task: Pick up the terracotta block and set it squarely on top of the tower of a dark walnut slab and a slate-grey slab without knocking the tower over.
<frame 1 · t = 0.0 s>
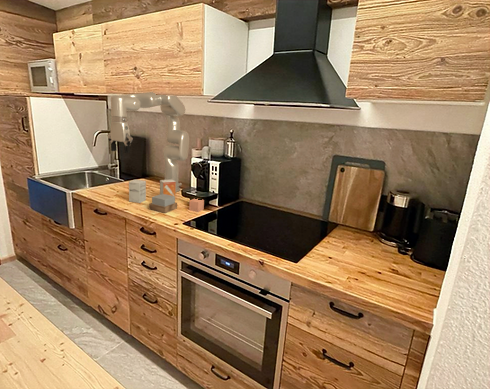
hand: (120, 151, 164), 31 cm above the counter, tool pointing down, fingers open, 9 cm apart
terracotta block: (196, 210, 175), on the counter
supplement box: (137, 201, 183), on the counter
tower bottom: (163, 209, 172), on the counter, touching tower top
small box: (167, 201, 188), on the counter
tower top: (163, 203, 171), point 3 cm above the counter, touching tower bottom
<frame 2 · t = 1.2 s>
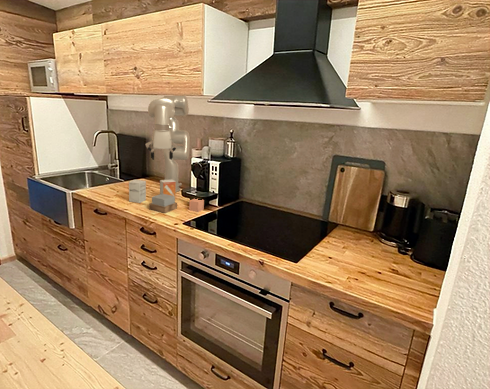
hand: (161, 159, 166), 29 cm above the counter, tool pointing down, fingers open, 9 cm apart
tower bottom: (163, 209, 172), on the counter
tower top: (163, 203, 171), point 4 cm above the counter
everything else where it was.
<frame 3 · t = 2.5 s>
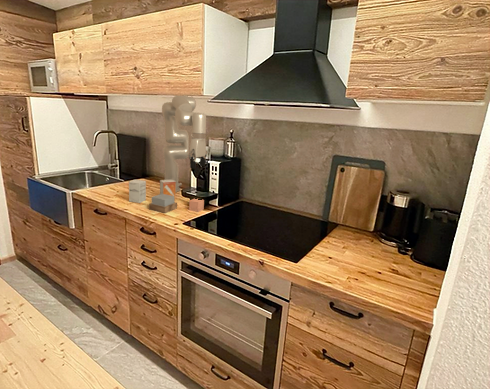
hand: (197, 167, 168), 25 cm above the counter, tool pointing down, fingers open, 9 cm apart
tower bottom: (163, 209, 172), on the counter, touching tower top
tower top: (163, 203, 171), point 3 cm above the counter, touching tower bottom
everything else where it was.
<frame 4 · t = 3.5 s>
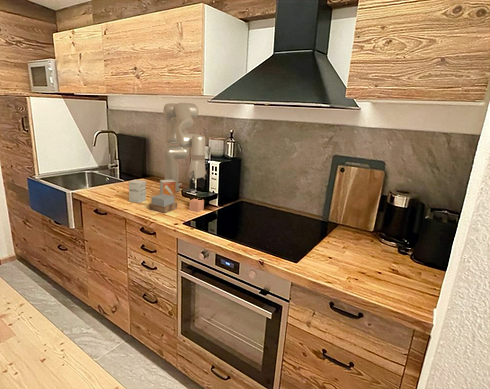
hand: (197, 187, 171), 14 cm above the counter, tool pointing down, fingers open, 9 cm apart
nothing on the counter moved.
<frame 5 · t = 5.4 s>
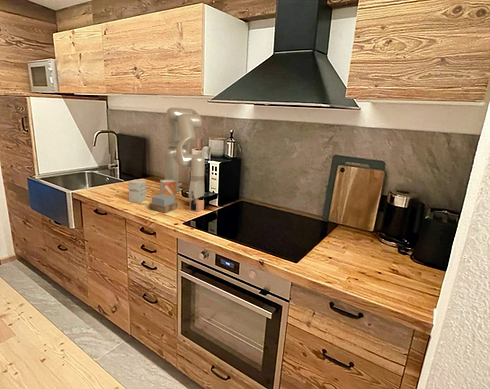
hand: (196, 208, 175), 1 cm above the counter, tool pointing down, fingers closed on terracotta block, 6 cm apart
terracotta block: (196, 209, 175), on the counter, touching gripper
everything else where it was.
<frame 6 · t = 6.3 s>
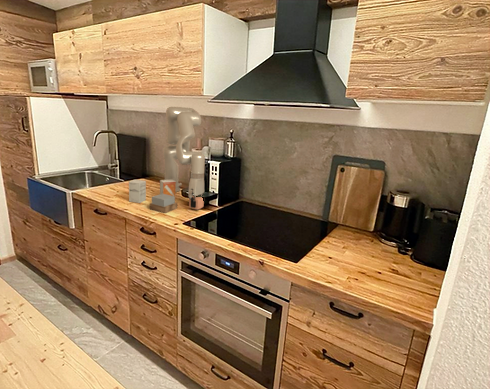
hand: (196, 205, 175), 3 cm above the counter, tool pointing down, fingers closed on terracotta block, 6 cm apart
terracotta block: (196, 207, 175), point 1 cm above the counter, touching gripper
everything else where it was.
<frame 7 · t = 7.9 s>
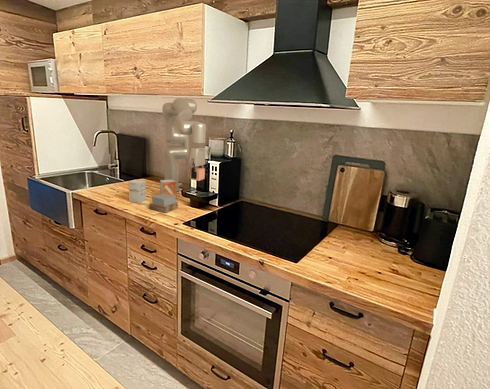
hand: (197, 177, 170), 20 cm above the counter, tool pointing down, fingers closed on terracotta block, 6 cm apart
terracotta block: (197, 178, 170), point 19 cm above the counter, touching gripper
everything else where it was.
when the fingers open (10 cm above the counter, at t = 13.5 s): terracotta block drops 2 cm, resting on tower top.
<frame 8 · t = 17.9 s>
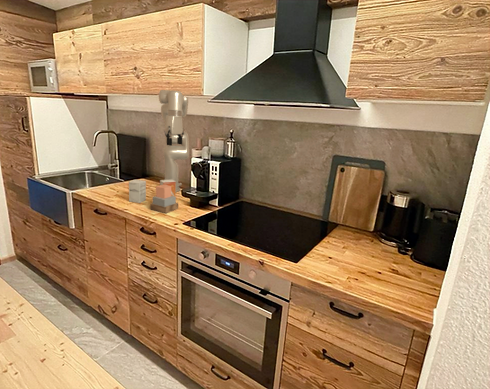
hand: (174, 144, 171), 36 cm above the counter, tool pointing down, fingers open, 9 cm apart
terracotta block: (163, 196, 170), point 8 cm above the counter, touching tower top
tower top: (164, 203, 171), point 4 cm above the counter, touching terracotta block, tower bottom
everything else where it was.
at the end: terracotta block 0.6 cm off-centre on the tower top, point 4.0 cm above the tower top's base; terracotta block tilted 0°; tower top moved 1.1 cm from its start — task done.
